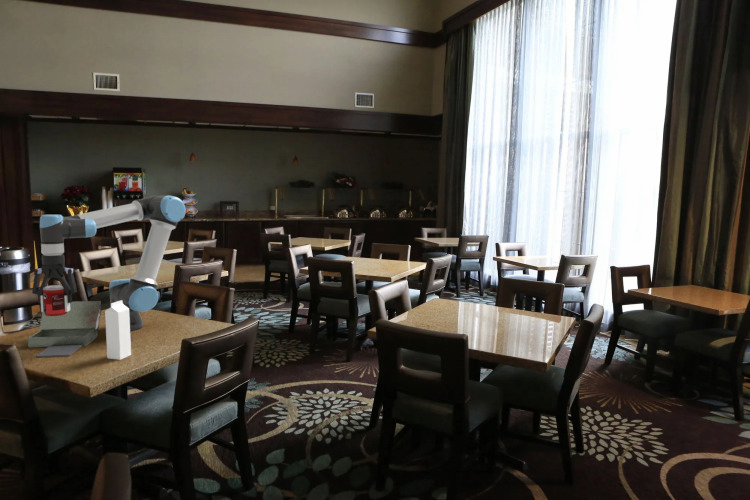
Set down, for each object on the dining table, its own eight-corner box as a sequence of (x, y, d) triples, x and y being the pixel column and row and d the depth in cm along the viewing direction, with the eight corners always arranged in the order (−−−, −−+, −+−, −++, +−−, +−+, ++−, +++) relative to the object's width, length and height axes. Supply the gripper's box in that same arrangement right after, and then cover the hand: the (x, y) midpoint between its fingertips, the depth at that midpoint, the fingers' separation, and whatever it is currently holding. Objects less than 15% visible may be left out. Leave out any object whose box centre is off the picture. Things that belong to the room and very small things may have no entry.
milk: (107, 358, 194) (103, 302, 192) (118, 353, 200) (115, 299, 197) (120, 360, 193) (117, 303, 190) (131, 354, 199) (128, 300, 196)
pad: (81, 346, 208) (81, 345, 208) (69, 356, 196) (69, 354, 196) (50, 347, 206) (50, 346, 206) (35, 357, 194) (35, 355, 194)
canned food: (51, 311, 203) (49, 284, 202) (71, 311, 203) (70, 285, 202) (39, 316, 195) (38, 288, 194) (61, 316, 196) (59, 288, 194)
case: (104, 333, 226) (102, 300, 224) (89, 345, 209) (87, 310, 207) (46, 335, 222) (44, 301, 220) (26, 347, 205) (24, 311, 203)
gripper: (85, 253, 202) (88, 308, 204) (29, 252, 199) (32, 309, 201) (77, 255, 194) (80, 313, 197) (18, 255, 191) (22, 313, 194)
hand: (55, 311), depth 199 cm, fingers closed on canned food, 8 cm apart
